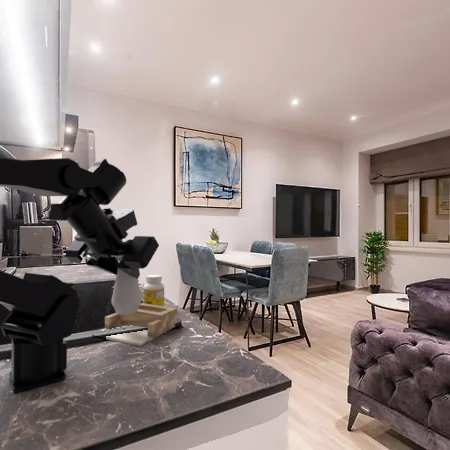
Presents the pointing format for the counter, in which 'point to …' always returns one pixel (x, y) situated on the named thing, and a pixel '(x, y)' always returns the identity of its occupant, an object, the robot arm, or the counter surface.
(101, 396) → the counter surface
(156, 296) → the supplement bottle
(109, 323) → the dock
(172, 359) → the counter surface
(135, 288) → the salt shaker
